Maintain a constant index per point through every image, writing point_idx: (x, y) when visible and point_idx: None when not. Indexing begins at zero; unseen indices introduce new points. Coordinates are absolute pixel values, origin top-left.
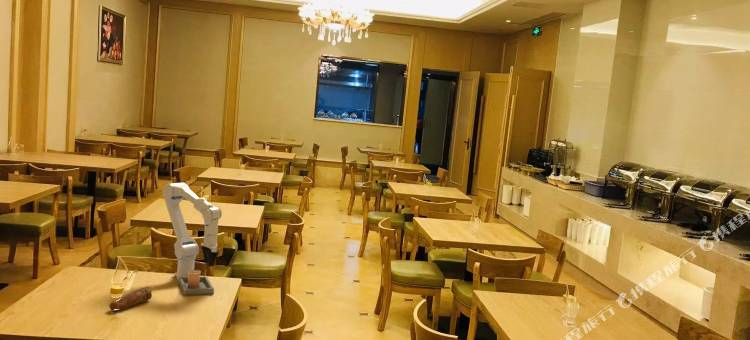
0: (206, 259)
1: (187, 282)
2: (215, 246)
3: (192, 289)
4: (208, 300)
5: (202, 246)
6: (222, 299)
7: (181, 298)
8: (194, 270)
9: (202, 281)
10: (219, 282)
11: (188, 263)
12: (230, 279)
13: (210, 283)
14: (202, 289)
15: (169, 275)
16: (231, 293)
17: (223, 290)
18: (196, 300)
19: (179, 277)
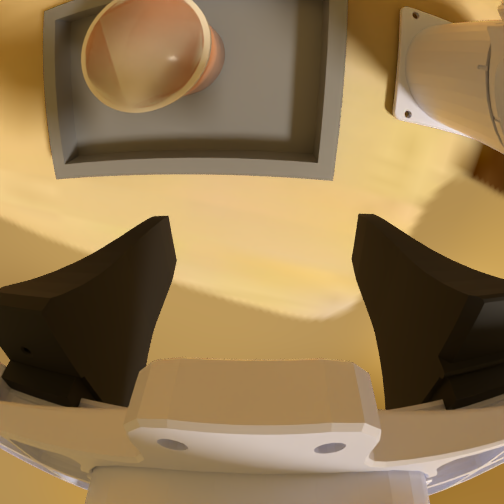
0: (363, 243)
1: (304, 34)
2: (63, 475)
3: (43, 52)
4: (2, 136)
5: (497, 319)
6: (17, 198)
7: (32, 7)
8: (172, 52)
9: (308, 139)
10: (290, 239)
11: (467, 74)
12: (328, 300)
13: (148, 171)
14: (47, 111)
15: (488, 13)
16: (91, 252)
17: (134, 226)
18: (2, 81)
19: None
